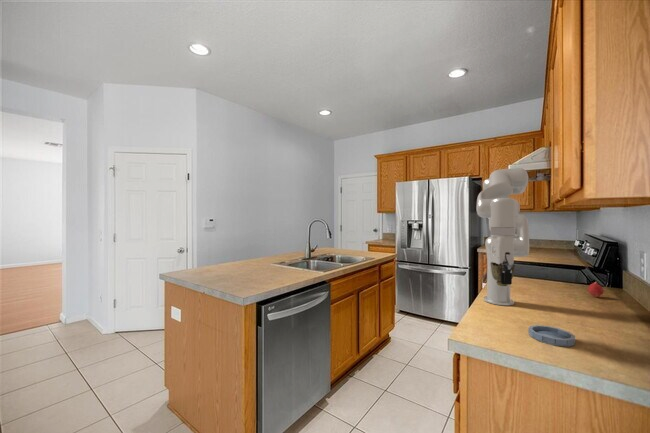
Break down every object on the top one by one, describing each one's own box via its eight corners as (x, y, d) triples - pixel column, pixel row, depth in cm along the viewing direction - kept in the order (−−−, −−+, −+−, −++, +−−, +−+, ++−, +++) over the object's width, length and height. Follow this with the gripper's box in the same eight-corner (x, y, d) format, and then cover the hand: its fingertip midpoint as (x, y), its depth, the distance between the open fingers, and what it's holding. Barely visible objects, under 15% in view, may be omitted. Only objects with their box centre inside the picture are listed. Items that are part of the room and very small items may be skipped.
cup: (495, 287, 99) (495, 264, 99) (486, 282, 106) (486, 261, 106) (518, 288, 98) (519, 265, 98) (508, 283, 105) (508, 261, 105)
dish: (522, 329, 102) (522, 323, 102) (561, 333, 99) (562, 327, 99) (539, 344, 90) (539, 337, 90) (583, 348, 87) (583, 341, 87)
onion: (584, 296, 146) (584, 280, 146) (593, 295, 147) (593, 280, 147) (597, 299, 141) (597, 283, 141) (606, 298, 142) (606, 282, 142)
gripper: (484, 230, 111) (483, 276, 111) (499, 233, 94) (498, 286, 94) (505, 231, 109) (505, 277, 109) (524, 234, 92) (524, 288, 93)
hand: (502, 281), depth 102 cm, fingers closed on cup, 6 cm apart
